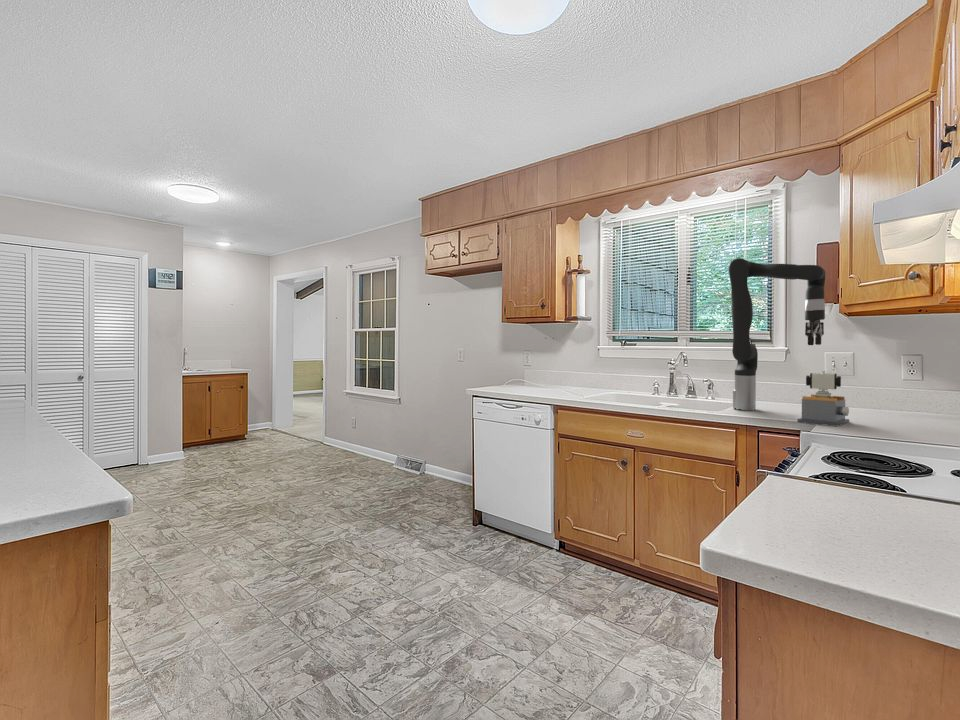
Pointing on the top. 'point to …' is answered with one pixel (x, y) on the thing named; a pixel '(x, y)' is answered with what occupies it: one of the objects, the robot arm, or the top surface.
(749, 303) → the robot arm
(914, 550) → the top surface
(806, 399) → the orange-striped grey block
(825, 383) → the pneumatic valve
